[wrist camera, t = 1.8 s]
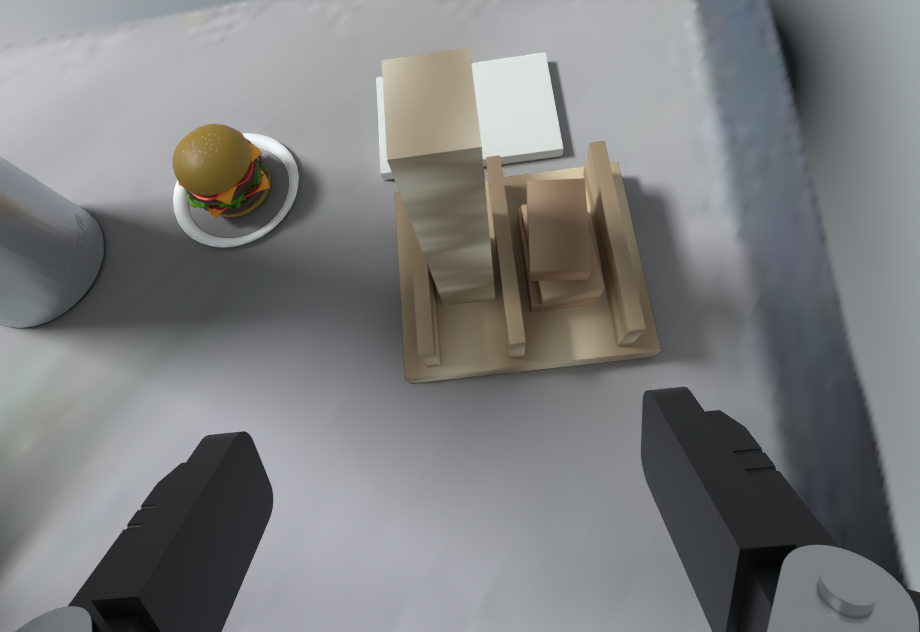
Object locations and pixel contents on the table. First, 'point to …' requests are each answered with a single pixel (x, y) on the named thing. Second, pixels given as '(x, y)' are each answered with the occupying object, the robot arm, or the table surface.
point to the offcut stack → (558, 246)
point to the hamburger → (226, 179)
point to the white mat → (505, 111)
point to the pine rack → (509, 316)
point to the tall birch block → (441, 168)
